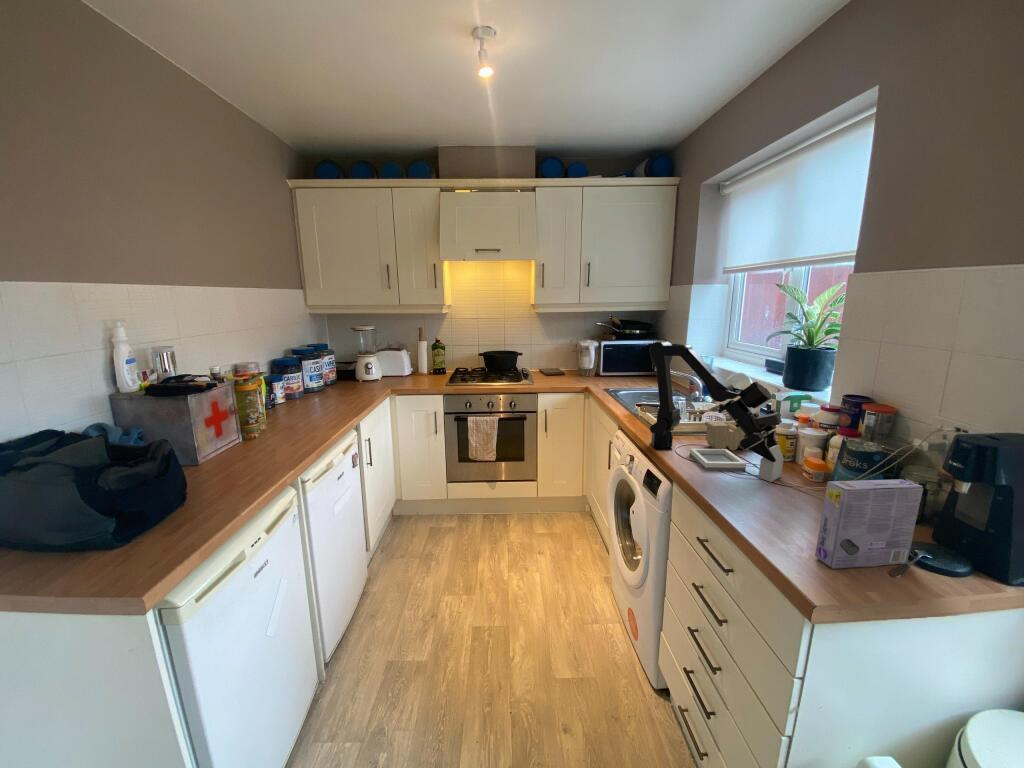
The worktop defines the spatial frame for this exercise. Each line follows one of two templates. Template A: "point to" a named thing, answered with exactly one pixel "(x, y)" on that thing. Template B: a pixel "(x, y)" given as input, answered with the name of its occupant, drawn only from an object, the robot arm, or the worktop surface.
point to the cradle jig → (717, 459)
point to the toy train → (723, 435)
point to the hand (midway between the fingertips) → (777, 458)
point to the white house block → (771, 465)
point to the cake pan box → (868, 522)
